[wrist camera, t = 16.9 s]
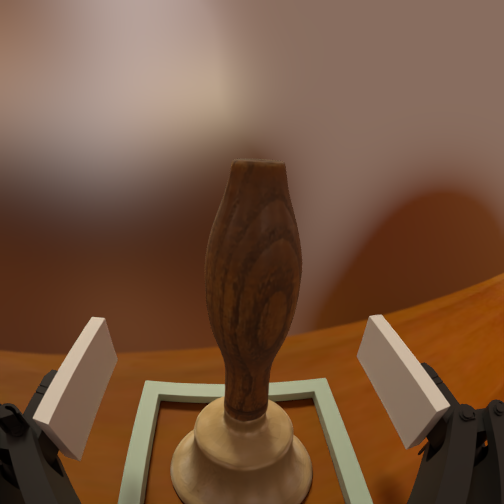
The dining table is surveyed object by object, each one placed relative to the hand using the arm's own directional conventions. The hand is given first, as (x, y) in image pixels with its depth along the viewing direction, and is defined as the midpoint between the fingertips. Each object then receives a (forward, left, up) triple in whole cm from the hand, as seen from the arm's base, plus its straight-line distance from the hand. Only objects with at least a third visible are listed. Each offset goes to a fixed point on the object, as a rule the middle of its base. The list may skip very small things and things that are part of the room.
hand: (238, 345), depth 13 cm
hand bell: (0, -3, -8) cm, 8 cm away
